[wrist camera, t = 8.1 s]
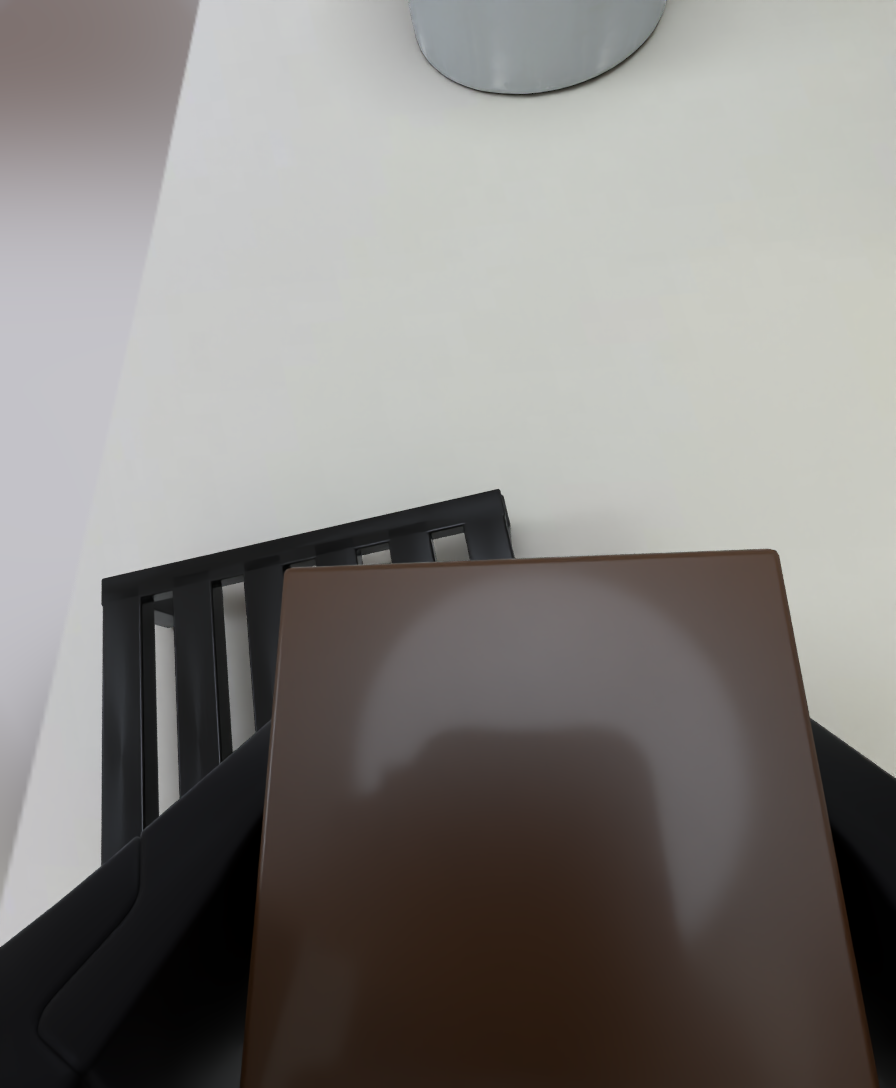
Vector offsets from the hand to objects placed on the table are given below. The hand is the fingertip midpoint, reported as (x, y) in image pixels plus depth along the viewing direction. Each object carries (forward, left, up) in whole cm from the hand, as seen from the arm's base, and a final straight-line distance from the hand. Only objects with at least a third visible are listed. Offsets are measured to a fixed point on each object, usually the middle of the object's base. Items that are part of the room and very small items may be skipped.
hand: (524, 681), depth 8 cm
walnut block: (0, -1, -7) cm, 7 cm away
